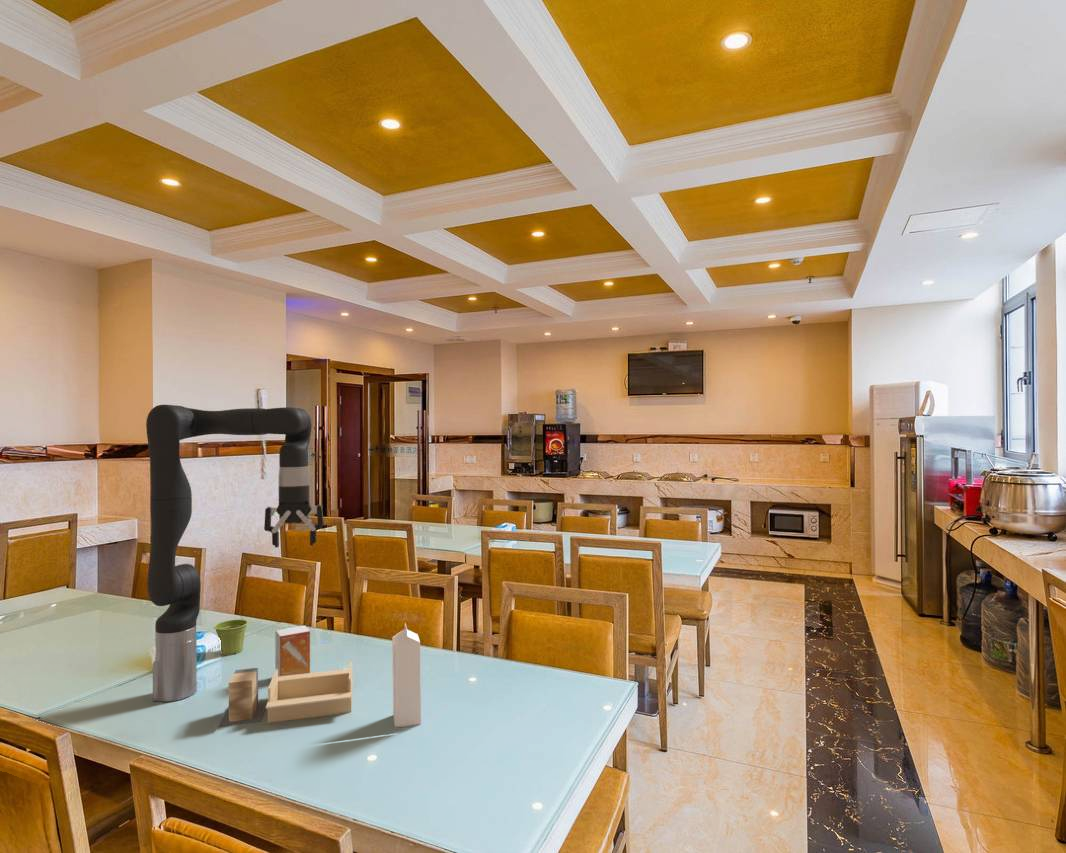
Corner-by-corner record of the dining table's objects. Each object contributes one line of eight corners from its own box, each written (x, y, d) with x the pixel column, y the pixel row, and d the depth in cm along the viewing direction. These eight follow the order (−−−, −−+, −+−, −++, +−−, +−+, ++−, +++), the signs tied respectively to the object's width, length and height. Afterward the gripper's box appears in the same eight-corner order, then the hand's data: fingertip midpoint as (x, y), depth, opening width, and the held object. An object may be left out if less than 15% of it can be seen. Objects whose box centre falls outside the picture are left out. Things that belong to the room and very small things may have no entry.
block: (228, 721, 140) (228, 682, 140) (236, 706, 148) (235, 670, 148) (252, 718, 142) (251, 680, 142) (258, 704, 149) (257, 667, 149)
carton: (265, 729, 138) (265, 694, 138) (277, 696, 155) (277, 664, 155) (350, 718, 143) (350, 684, 143) (353, 687, 160) (352, 657, 160)
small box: (279, 684, 162) (279, 636, 163) (275, 677, 168) (274, 630, 168) (310, 677, 167) (310, 630, 167) (305, 670, 172) (305, 624, 172)
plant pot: (238, 657, 183) (238, 628, 183) (208, 657, 183) (208, 629, 183) (253, 646, 193) (253, 619, 193) (224, 646, 193) (224, 619, 193)
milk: (394, 728, 137) (393, 631, 138) (393, 716, 143) (391, 623, 143) (421, 724, 139) (420, 628, 139) (419, 712, 145) (417, 620, 145)
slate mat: (218, 728, 138) (218, 725, 138) (228, 707, 149) (228, 705, 149) (260, 723, 141) (260, 720, 141) (268, 703, 151) (268, 700, 151)
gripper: (262, 486, 152) (262, 550, 152) (321, 484, 156) (322, 547, 156) (267, 483, 160) (267, 545, 159) (323, 482, 163) (324, 542, 163)
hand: (294, 546), depth 158 cm, fingers open, 8 cm apart
